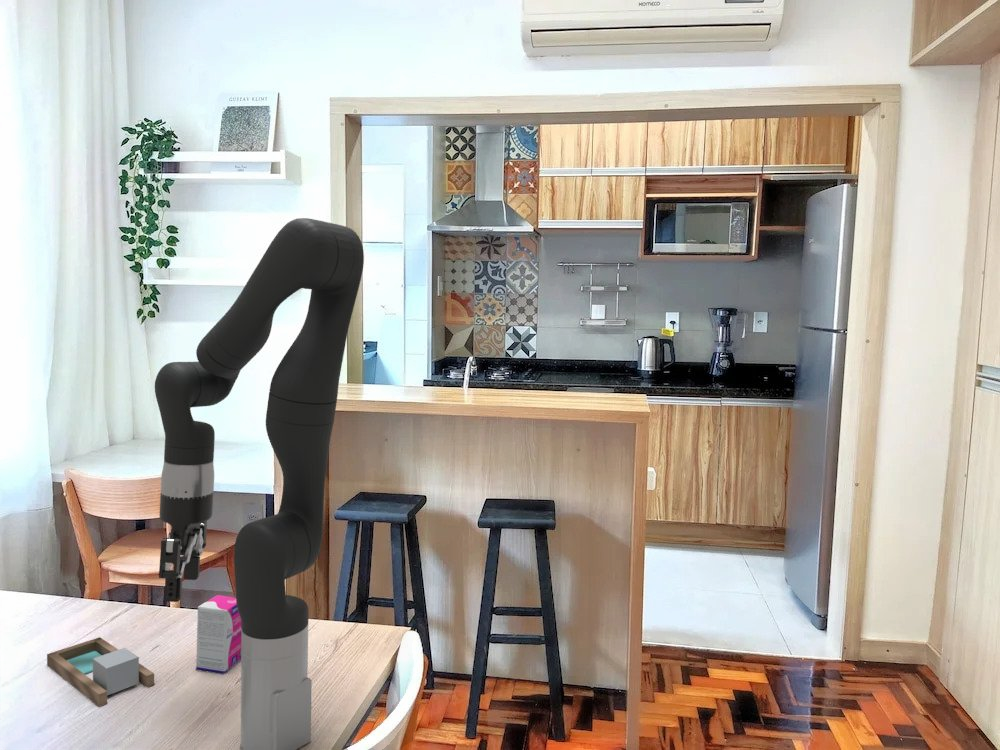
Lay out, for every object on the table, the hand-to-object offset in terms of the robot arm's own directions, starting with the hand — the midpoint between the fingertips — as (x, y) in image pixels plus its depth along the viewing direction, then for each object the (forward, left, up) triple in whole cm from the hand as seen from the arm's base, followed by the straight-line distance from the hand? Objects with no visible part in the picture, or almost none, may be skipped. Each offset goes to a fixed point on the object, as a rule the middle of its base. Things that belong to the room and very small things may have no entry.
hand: (182, 589), depth 108 cm
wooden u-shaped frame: (+18, +5, -18) cm, 27 cm away
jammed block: (+12, +5, -18) cm, 23 cm away
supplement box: (+6, -10, -19) cm, 22 cm away
